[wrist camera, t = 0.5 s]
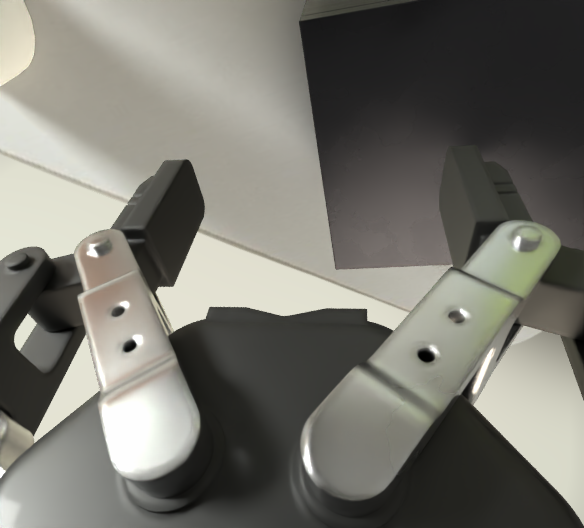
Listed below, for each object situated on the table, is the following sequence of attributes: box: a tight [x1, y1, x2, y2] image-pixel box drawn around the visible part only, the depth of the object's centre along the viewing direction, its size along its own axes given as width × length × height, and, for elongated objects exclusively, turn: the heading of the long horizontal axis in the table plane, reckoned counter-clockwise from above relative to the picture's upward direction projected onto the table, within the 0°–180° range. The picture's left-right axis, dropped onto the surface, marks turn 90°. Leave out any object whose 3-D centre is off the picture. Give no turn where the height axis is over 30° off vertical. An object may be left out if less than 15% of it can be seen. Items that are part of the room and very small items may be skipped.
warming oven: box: [299, 0, 584, 269], centre depth 24 cm, size 16×16×9 cm
